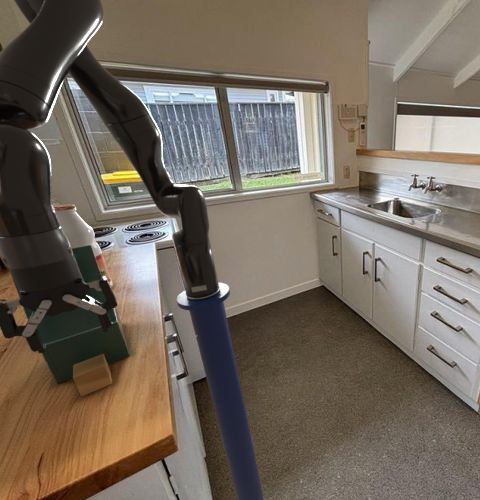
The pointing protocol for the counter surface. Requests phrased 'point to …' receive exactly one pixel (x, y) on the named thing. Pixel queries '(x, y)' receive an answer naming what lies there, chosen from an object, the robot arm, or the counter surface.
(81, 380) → the block
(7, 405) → the counter surface
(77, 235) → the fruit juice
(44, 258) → the robot arm
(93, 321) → the bin lid
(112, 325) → the bin
